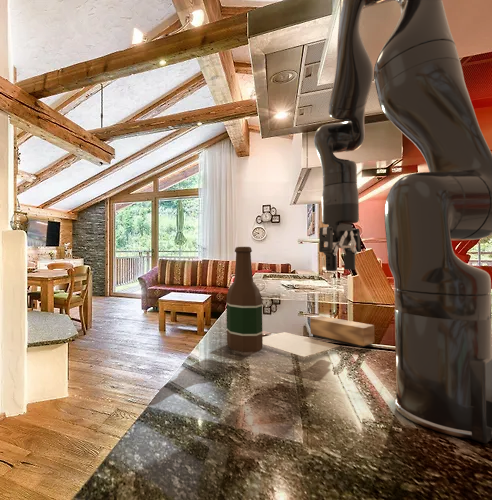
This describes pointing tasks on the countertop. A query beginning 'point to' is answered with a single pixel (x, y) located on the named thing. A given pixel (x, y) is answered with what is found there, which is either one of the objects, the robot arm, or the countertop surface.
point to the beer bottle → (244, 307)
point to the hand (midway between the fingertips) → (340, 270)
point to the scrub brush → (342, 331)
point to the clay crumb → (265, 333)
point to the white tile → (296, 344)
